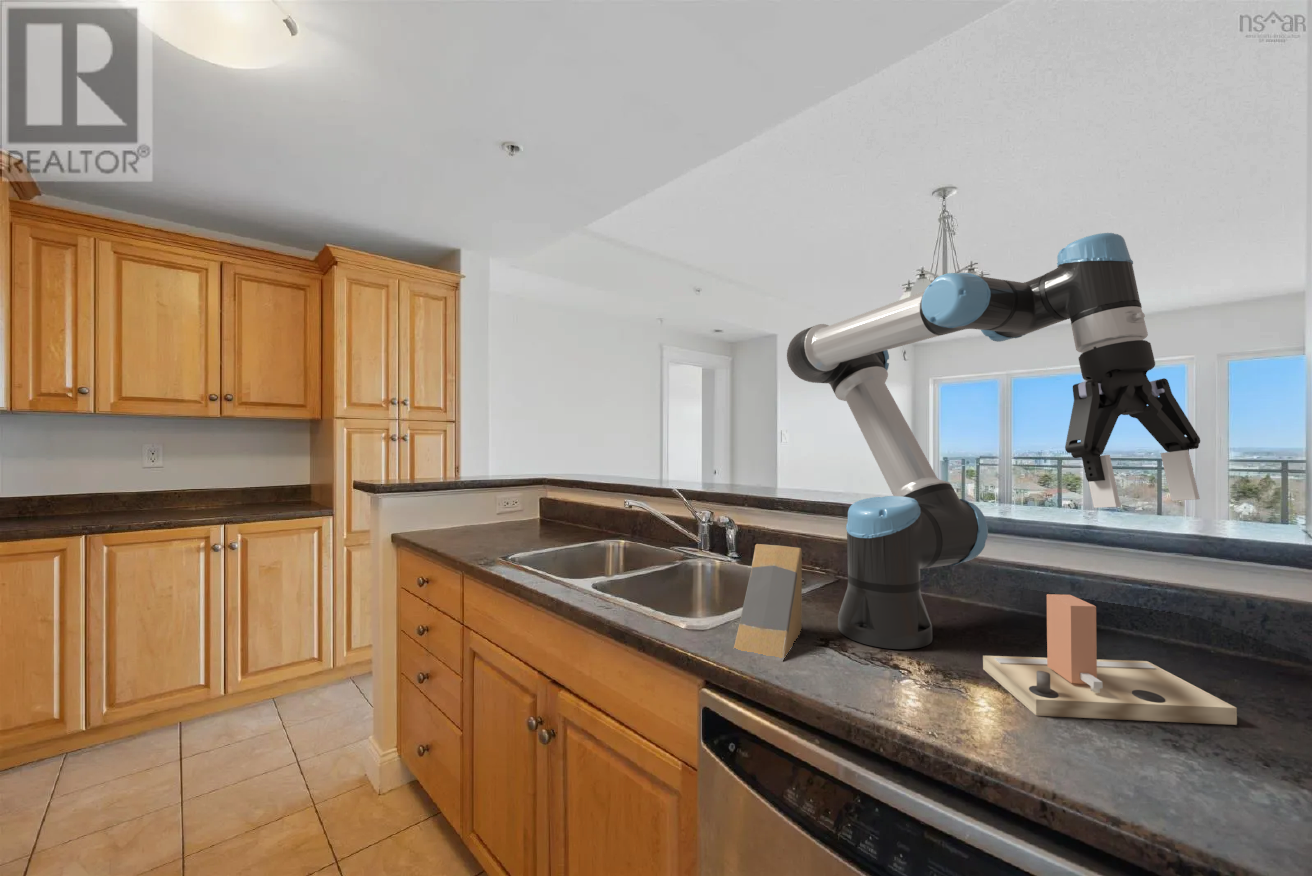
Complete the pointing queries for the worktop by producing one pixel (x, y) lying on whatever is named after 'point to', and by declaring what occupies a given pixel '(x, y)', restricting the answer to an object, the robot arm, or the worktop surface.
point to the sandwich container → (772, 602)
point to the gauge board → (1109, 692)
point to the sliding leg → (1072, 640)
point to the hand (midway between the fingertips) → (1147, 503)
